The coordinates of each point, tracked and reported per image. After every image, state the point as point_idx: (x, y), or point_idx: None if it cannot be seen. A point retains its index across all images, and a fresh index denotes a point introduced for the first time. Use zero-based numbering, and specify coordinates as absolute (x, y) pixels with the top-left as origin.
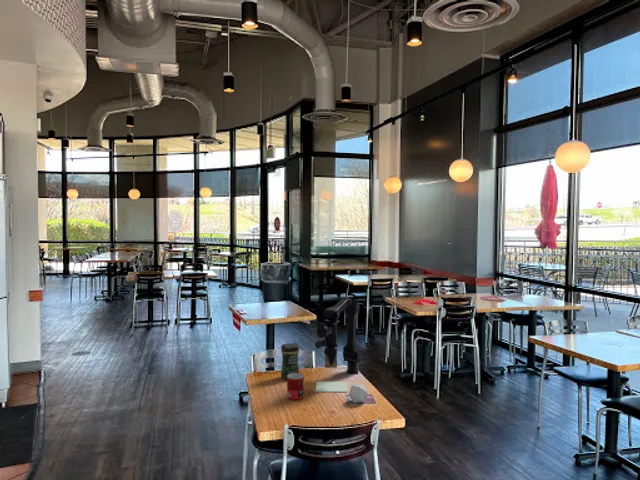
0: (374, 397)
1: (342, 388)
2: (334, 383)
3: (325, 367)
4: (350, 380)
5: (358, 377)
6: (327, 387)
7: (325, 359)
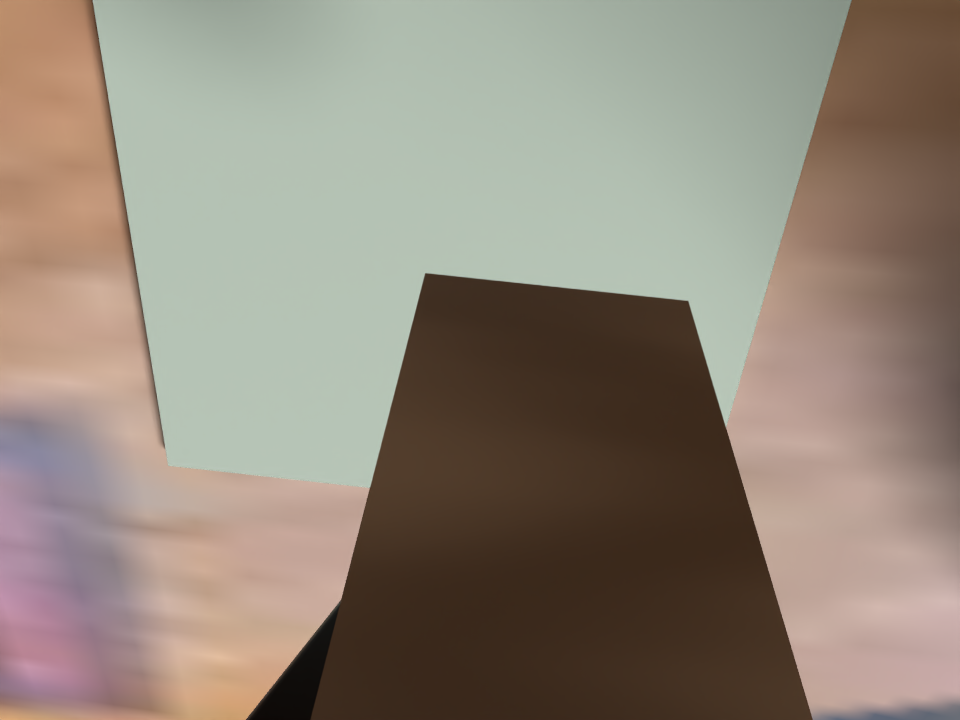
0: (34, 717)
1: (321, 405)
2: (647, 285)
3: (423, 296)
4: (815, 571)
5: (938, 692)
6: (377, 100)
7: (328, 663)
